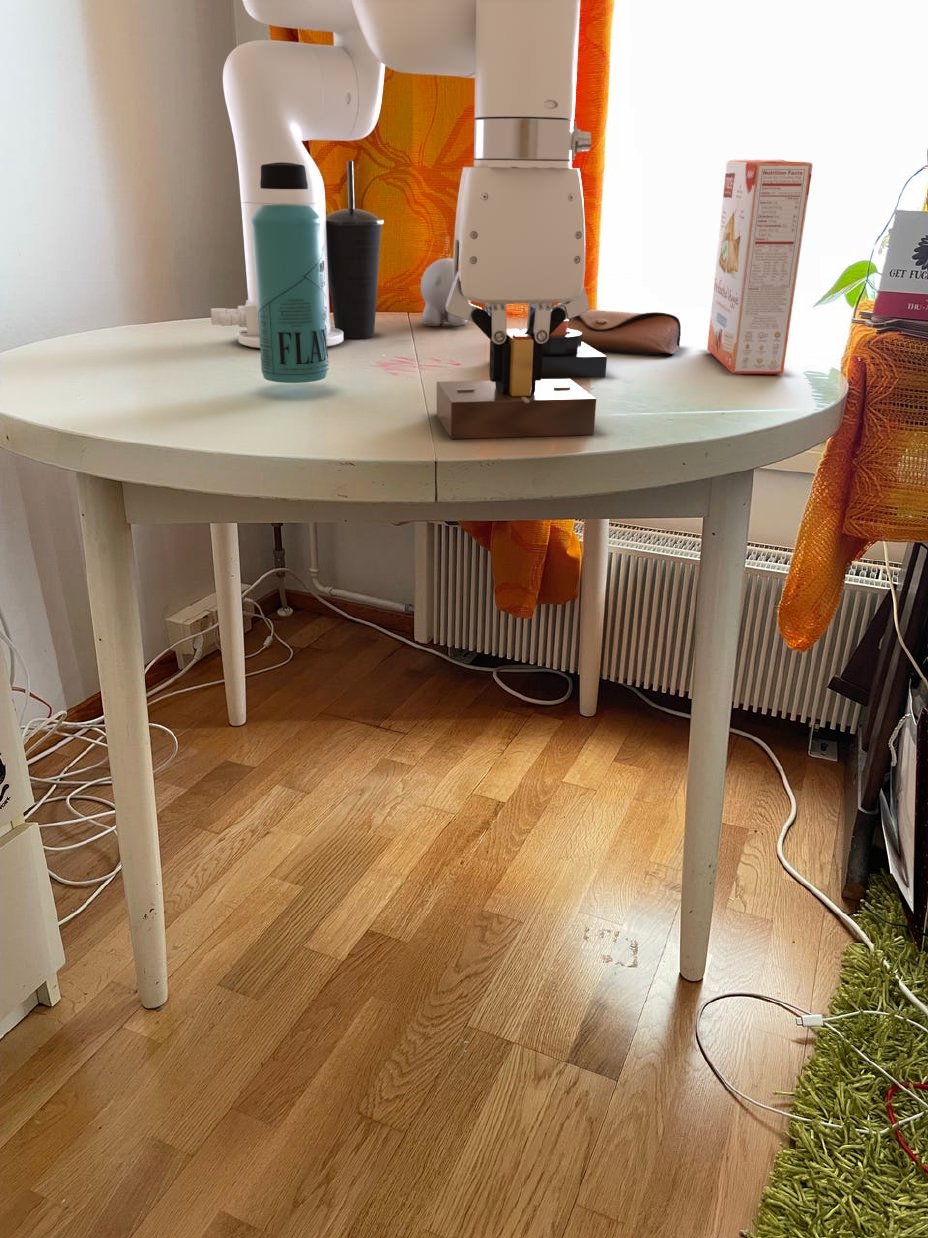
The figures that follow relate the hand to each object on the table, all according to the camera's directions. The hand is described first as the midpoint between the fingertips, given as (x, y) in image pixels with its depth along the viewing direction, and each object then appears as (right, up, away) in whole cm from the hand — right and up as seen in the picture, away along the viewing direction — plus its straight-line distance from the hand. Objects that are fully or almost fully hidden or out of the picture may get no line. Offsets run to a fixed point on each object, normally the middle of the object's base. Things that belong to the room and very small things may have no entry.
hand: (515, 388), depth 83 cm
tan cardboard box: (0, 0, 0) cm, 0 cm away
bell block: (+5, +7, +23) cm, 25 cm away
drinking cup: (-18, +16, +42) cm, 48 cm away
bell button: (+5, +11, +22) cm, 25 cm away
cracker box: (+27, +9, +29) cm, 41 cm away
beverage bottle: (-20, +2, +12) cm, 24 cm away
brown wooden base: (0, -3, +1) cm, 3 cm away
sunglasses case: (+12, +13, +37) cm, 41 cm away
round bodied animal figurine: (-6, +21, +53) cm, 57 cm away
